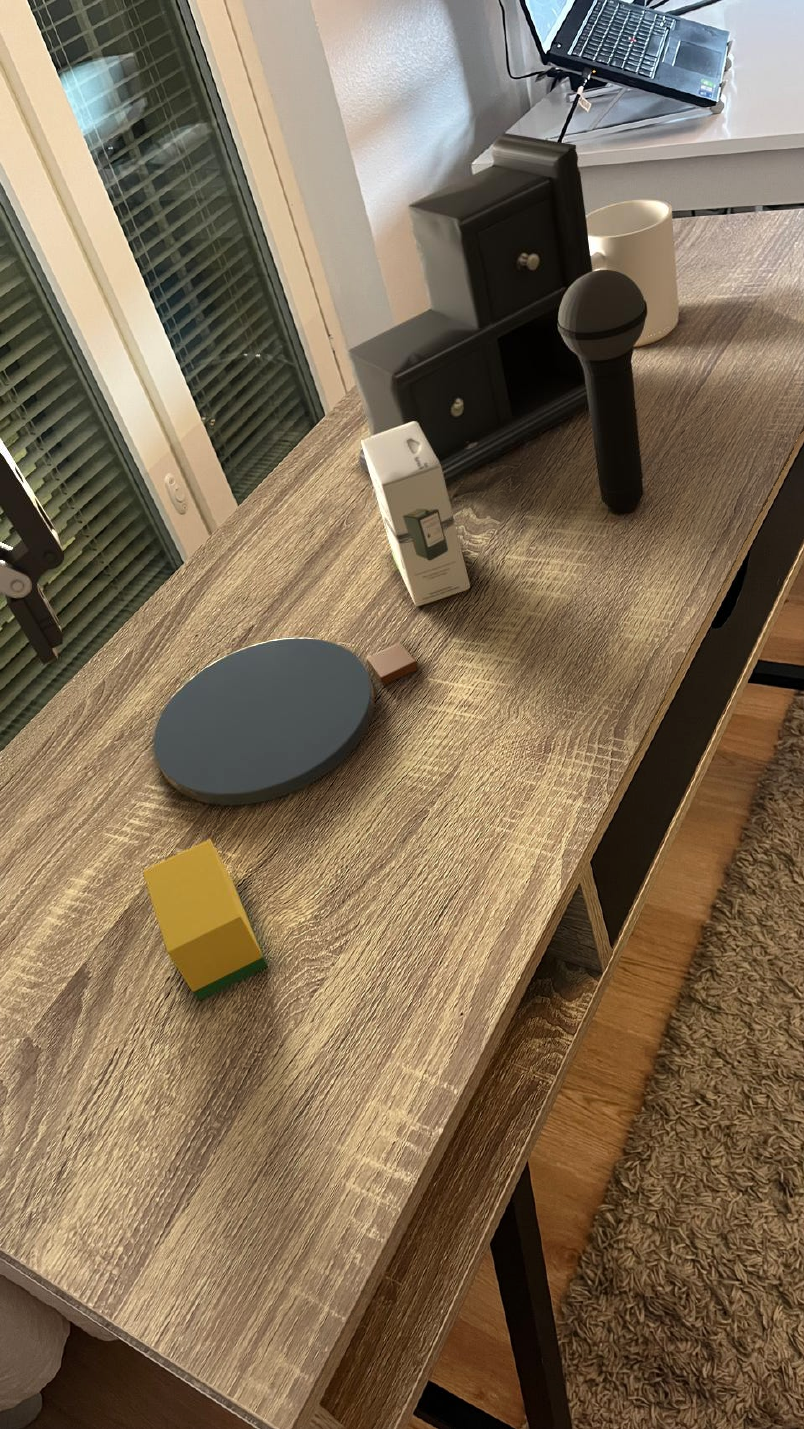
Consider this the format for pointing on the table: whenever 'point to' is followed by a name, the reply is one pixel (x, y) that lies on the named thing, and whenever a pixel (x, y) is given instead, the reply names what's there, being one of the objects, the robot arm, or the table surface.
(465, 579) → the ink box
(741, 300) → the table surface
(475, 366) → the small black cabinet
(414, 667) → the orange brown flat block
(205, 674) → the plate
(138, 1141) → the table surface
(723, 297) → the table surface
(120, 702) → the table surface
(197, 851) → the sponge
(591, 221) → the mug
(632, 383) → the microphone
